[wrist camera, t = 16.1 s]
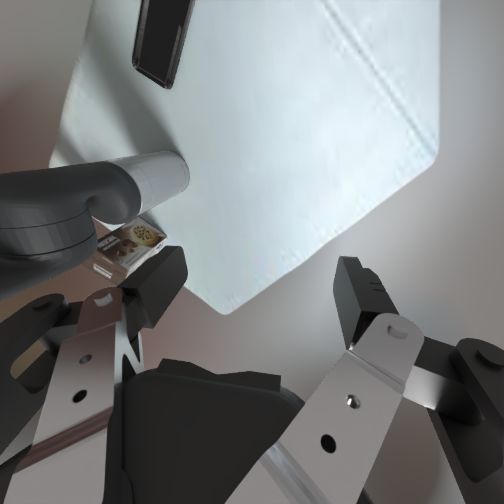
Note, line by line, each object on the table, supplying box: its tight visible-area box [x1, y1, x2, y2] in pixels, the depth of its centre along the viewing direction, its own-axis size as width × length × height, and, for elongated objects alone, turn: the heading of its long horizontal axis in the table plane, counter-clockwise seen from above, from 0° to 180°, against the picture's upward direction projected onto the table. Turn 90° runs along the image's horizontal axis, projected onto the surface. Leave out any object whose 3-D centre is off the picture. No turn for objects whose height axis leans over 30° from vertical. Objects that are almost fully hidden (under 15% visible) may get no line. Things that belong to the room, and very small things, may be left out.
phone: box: [132, 0, 195, 89], centre depth 36 cm, size 8×1×15 cm
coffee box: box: [82, 217, 167, 286], centre depth 52 cm, size 9×6×16 cm
